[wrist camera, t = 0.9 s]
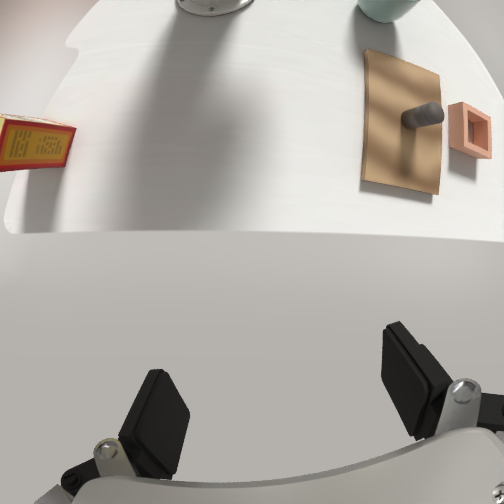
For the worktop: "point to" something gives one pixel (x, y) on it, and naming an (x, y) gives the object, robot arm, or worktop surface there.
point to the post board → (402, 124)
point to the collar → (459, 131)
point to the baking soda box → (33, 143)
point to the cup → (386, 9)
